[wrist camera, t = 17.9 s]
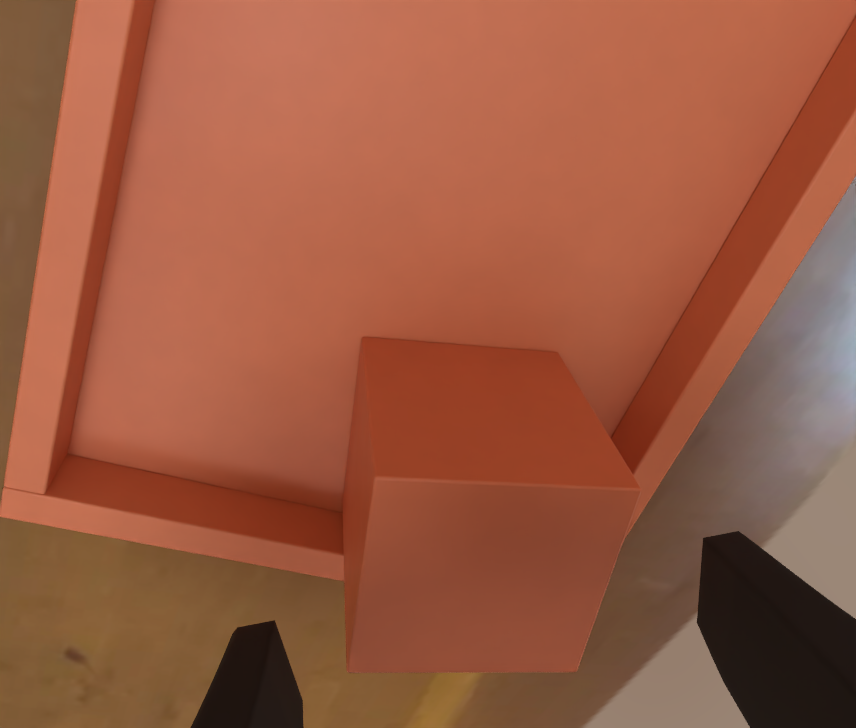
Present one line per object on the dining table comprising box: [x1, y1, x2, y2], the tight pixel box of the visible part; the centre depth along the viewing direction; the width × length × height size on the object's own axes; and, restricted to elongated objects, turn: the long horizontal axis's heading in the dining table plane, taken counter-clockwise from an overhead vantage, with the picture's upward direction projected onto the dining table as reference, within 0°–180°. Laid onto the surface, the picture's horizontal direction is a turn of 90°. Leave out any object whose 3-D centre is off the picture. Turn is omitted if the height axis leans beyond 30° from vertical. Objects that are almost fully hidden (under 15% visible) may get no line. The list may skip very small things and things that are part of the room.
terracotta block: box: [342, 337, 641, 673], centre depth 15 cm, size 4×4×5 cm
